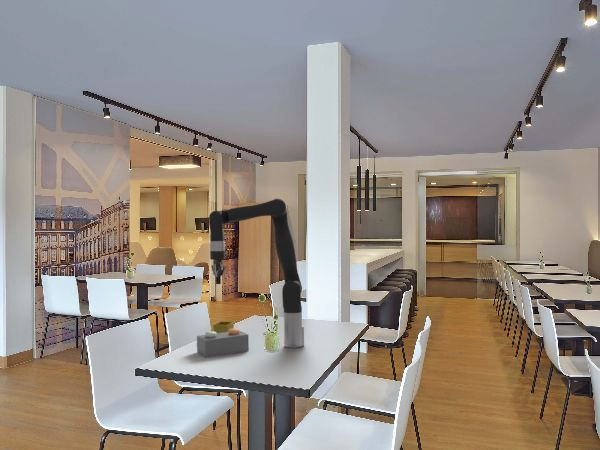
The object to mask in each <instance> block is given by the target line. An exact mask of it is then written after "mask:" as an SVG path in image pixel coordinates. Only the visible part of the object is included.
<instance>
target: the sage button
mask: <svg viewBox="0 0 600 450" xmlns="http://www.w3.org/2000/svg"><path fill="white" fill-rule="evenodd" d="M204 335H205V337H206V338H214V337H216V332H215V331H214V330H213V331H212V330H211V331H210V330H209V331H206V332H205V333H204Z"/></svg>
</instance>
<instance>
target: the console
mask: <svg viewBox="0 0 600 450" xmlns="http://www.w3.org/2000/svg"><path fill="white" fill-rule="evenodd" d="M249 345H250V343H249V334H248V333H246V332H244V331H241V330H239V334H236V335H230V334H229V332H223V333H216V337H214V338H206V337H205V334H202V335H197V336H196V352H198V353H197V354H199V355H200V354H201V356H202V357H203V356H204V359H205V358H207V357H208V358H213V356H214V357H220V356H226V355H231V354H240V353H243V352H249V351H250V350H249V349H250V348H249V347H250V346H249Z"/></svg>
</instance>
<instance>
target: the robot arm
mask: <svg viewBox="0 0 600 450" xmlns="http://www.w3.org/2000/svg"><path fill="white" fill-rule="evenodd" d="M267 216H269V217H271V219H272V221H273V226H274V243H275V249H276V250H275V251H276V254H277V259H278V261H279V263H280V266H281V269H282V272H283V277H284V284H283V286H282V289H281V290H282V291H281V293H282V294H281V295H282V307H283V335H284V336H283V339H284V340H283V343H284V344H283V345H284V347H286V348H290V349H291V348H293V349H294V348H295V349H296V348H301V347H304V346H305V327H304V326H303V307H302V296H301V294H302V291H303V286H302V282H301V279H300V275H299V272H298V267H297V266H298V265H297V258H296V257H297V256H296V250H295V244H294V240H293V236H292V233H291V230H290V226H289V222H288V221H289V218H288V206H287V203H286V201H284V200H283V199H281V198H274V199H272V200H269V201H266V202H263V203H257V204H252V205H247V206H246V205H245V206H239V207H233V208H229V209H225V210H213V211H211V212H210V213H209V216H208V222H209V223H208V224H209V231H210V234H209V236H210V238H209V240H210V242H209V259H210V260H213V262H212V264H211V271H212V274H213V276H214V277H215V284H216V285H221V283H222V281H221V279H222V278H221V277H222V276H223V275H224V271H225V268H226V267H225V266H224V263H223V260H225V259H226V243H225V231H224V229H223V228H224V224H228V223H235V222H242V221H243V222H244V221H247V220H251V219H255V218H260V217H267Z"/></svg>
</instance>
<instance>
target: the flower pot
mask: <svg viewBox="0 0 600 450" xmlns="http://www.w3.org/2000/svg"><path fill="white" fill-rule="evenodd" d="M212 328H213V331H215V332H216V333H223V332H229V329H233V328H235V322H234V321H218V322H215V323H213V324H212Z"/></svg>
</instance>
